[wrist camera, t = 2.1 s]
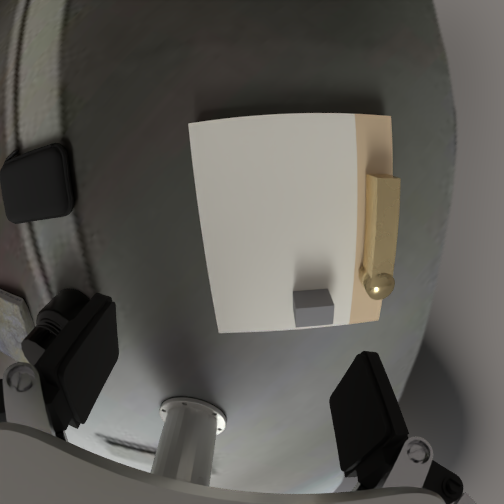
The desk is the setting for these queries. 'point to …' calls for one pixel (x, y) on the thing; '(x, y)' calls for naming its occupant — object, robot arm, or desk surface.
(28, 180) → the carrying case or bag
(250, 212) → the white cabinet door
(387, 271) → the gold bar
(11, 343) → the grey flat stone slab
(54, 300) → the ink bottle
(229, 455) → the desk surface
